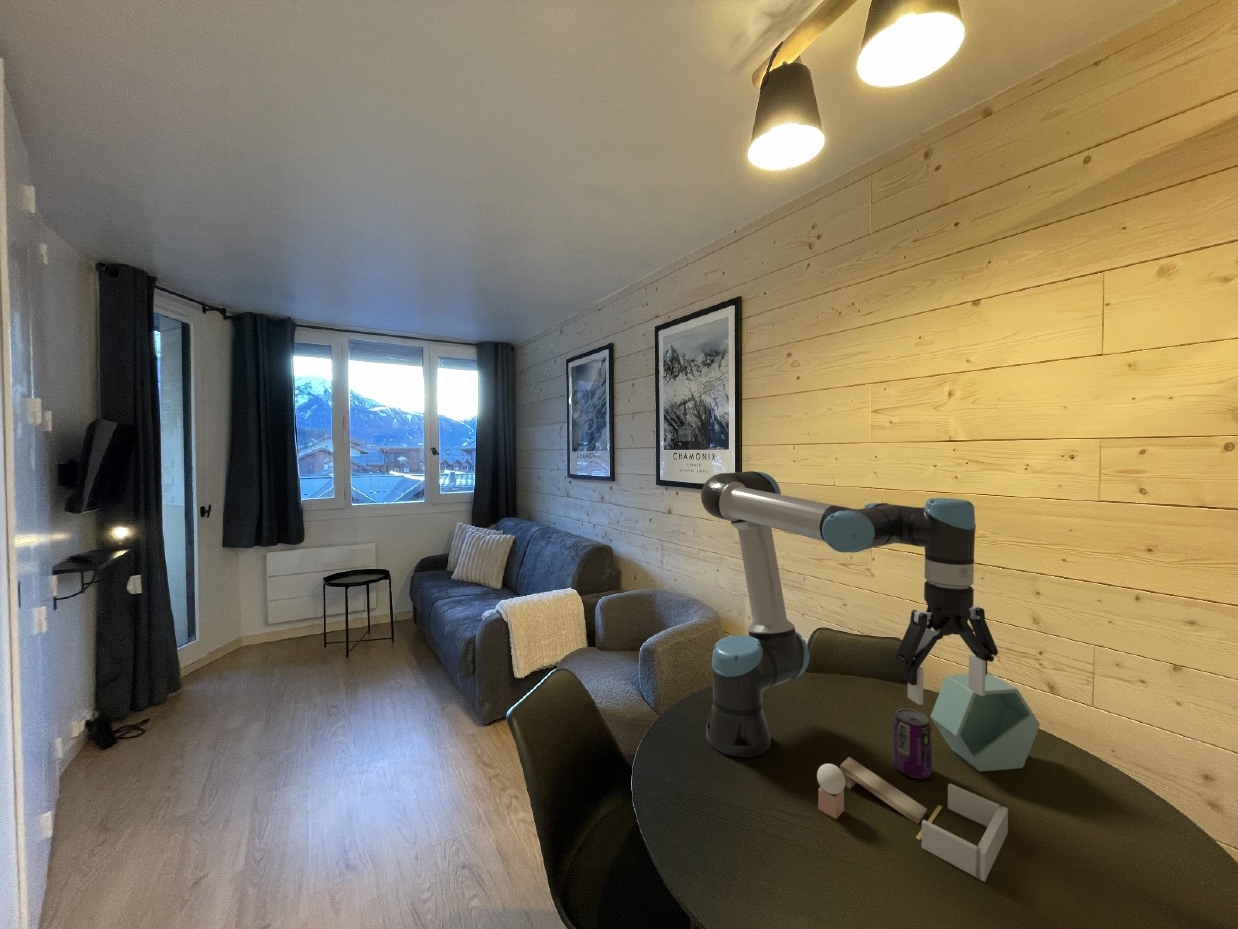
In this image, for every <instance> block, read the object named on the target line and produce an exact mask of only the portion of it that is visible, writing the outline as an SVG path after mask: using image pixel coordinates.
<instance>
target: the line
mask: <svg viewBox="0 0 1238 929" xmlns="http://www.w3.org/2000/svg"><path fill="white" fill-rule="evenodd" d="M942 808H943V806H942V805H939V804H938V805H937V807H936V808H935V809H934V811H933V812H932V814H930V816H929V818H928V819H927V821H928V822H930V823H932V824H933V821H934V820H935V819H936V817H937V816H938V815H939V813H940V811H941V810H942ZM915 839H916V840H918V841H921V840H922V828H921V829H920V831H919V832H918V834H917V835H916V836H915Z"/></svg>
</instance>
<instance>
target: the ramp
mask: <svg viewBox="0 0 1238 929" xmlns="http://www.w3.org/2000/svg"><path fill="white" fill-rule="evenodd" d="M839 769H840V770H841V771H842V773H843V774H844V777H845V787H846V788H848V789H850V790H851V789H852V788H853V787H854V786H855V785H856V784H859V785H860V786H861V787H863V788H864V789H866V790H867V791H869V792H870V793H871V794H872V795H875V797H877V798H879V799H880V800H881V801H883V802H884V803H886V804H887V805H888V806H890V807H891V808H893V809H894V810H896V811H897V812H899V813H900V814H901V815H903V816H904V817H905V818H907V819H909V820H910V821H911V822H913V823H915V824H918V825H919V824H920V822H922V820H923V819H924V816H925V815H926V814H927V811H928V809H927V808H926V807H925V806H923V805H922V804H920V803H919V802H918V801H916V800H914V799H913V798H912V797H910V796H909V795H907V794H905V793H904V792H902V791H901V790H900V789H898V788H896V787H895V786H894V785H892V784H890V783H889V782H887V781H886V780H884V779H883V778H882V777H880V776H879V775H877V774H875V773H874V772H873V771H872V770H870V769H868V768H866V766H864V765H862V764H860V763H859V762H858V761H857V760H855V759H853V758H852V757H850V756H848V757H847V758H846V759H845V760H844V761H843V762H841V764H840V765H839ZM845 787H844V788H845Z"/></svg>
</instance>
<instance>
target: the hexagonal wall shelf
mask: <svg viewBox="0 0 1238 929" xmlns="http://www.w3.org/2000/svg"><path fill="white" fill-rule="evenodd" d="M929 717H930V719H931V721H932V722H933V724H934V725H935V726H936V728H937V729H938V731H939V732H940V734H941V735H942V738H943V739H944V740H945V741H946V743H947V745H948V746H949V748H950V749H951V750H952V751H953V752H954V753H955V754H957V755H958V756H959V757H960V758H962V759H963V761H964V760H965V762H967V763H968V764H969V765H970V766H972V767H973V768H974V769H975V770H977V771H978V772H989V771H990V772H991V771H992V772H993V771H1002V770H1003V771H1004V770H1005V771H1006V770H1015V769H1022V768H1023V767H1024V766H1025V763H1026V761H1027V758H1028V756H1029V754H1030V751H1031V749H1032V746H1033V744H1034V741H1035V738H1036V736H1037V733H1038V731H1039V728H1040V726H1041V724H1040V722H1039V720H1038V719H1037V718H1036V716H1035V714H1034V713H1033V711H1032V710H1031V707H1030V706H1029V704H1028V703H1027V701H1026V700H1025V698H1024V697H1023V696H1022V694H1021V692H1020V690H1018V688H1016V687H1014V686H1012V685H1011V684H1009V683H1007V682H1005V681H1003V680H1001V679H999V678H998V677H995V676H994V675H992V674H990V673H988V672H987V675H986V677H985V696H981V695H979V694H977V693H975V692H973V691H971V690H970V689H969V673H968V674H967V673H966V674H956V675H955V674H951V675H950V674H949V675H946V676H945V679H944V681H943V683H942V686H941V689H940V691H939V694H938V696H937V699H936V701H935V704H934V706H933V709H932V711H931V714H930V716H929Z"/></svg>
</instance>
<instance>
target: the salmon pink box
mask: <svg viewBox="0 0 1238 929" xmlns="http://www.w3.org/2000/svg"><path fill="white" fill-rule="evenodd" d="M817 791H818V794H817V796H818V799H817V800H818V803H817V806H818V807H817V808H818V810H819V811H820V812H822V813H824V814H825V815H828V816H829V817H831V818H833V819H834V820H837V818H839V817H840V815H841V814H842V813H844V812H845V789H843V791H842V792H841V793H839V794H829V793H827V792H826V791H824V790H823V789H822V788H821V786H820V787H819V788H818V790H817Z"/></svg>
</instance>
